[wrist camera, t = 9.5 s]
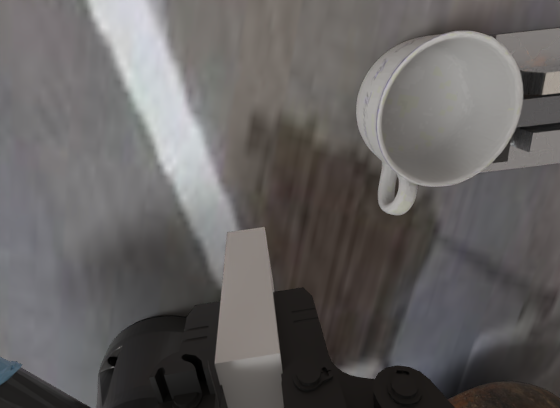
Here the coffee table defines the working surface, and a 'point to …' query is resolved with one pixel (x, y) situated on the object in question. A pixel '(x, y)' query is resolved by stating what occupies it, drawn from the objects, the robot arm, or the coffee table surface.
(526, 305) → the coffee table surface
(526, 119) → the hammer
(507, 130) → the teacup
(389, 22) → the coffee table surface
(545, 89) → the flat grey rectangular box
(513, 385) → the jug
